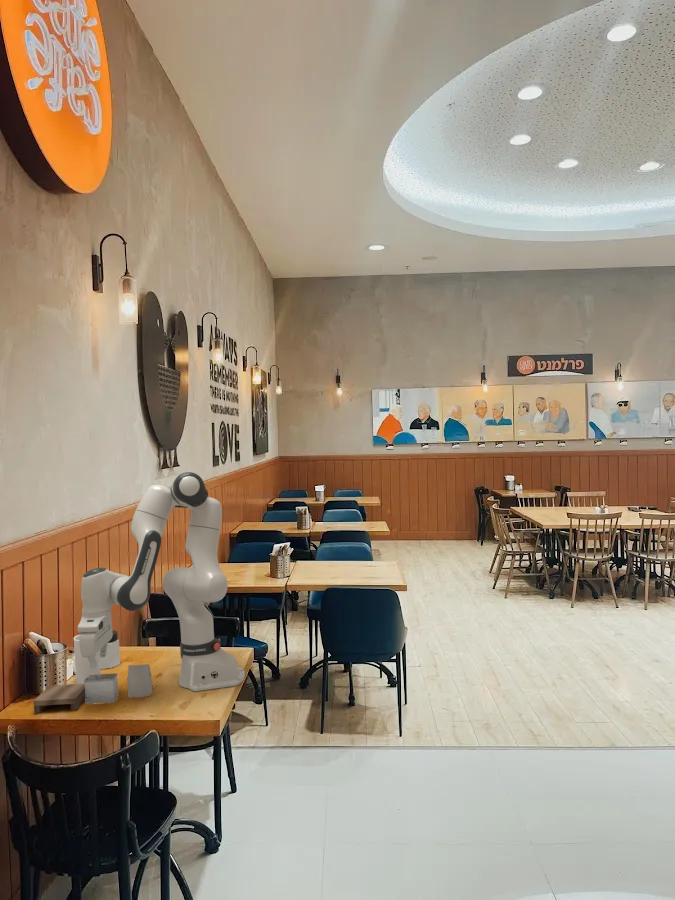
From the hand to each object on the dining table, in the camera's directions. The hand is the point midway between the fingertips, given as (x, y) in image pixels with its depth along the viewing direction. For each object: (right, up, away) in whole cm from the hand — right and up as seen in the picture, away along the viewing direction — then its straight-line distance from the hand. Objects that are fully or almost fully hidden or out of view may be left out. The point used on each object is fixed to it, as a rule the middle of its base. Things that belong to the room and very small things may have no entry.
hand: (98, 661), depth 207 cm
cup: (-10, -13, +18) cm, 25 cm away
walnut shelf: (-11, -14, 0) cm, 18 cm away
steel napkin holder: (+1, -13, +1) cm, 13 cm away
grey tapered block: (+12, -13, +4) cm, 18 cm away
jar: (-9, -13, +33) cm, 37 cm away
